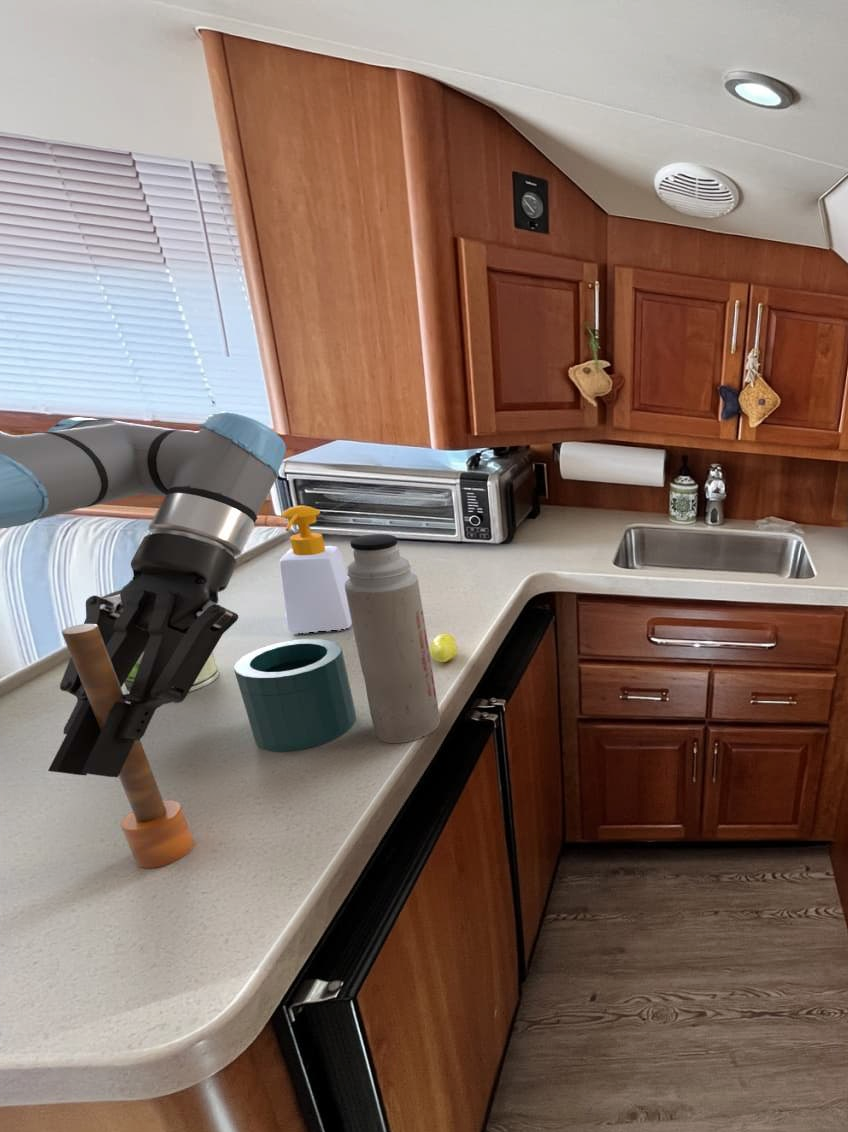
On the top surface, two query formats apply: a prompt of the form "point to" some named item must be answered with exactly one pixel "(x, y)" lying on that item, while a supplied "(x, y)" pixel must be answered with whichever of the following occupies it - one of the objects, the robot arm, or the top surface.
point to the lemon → (443, 648)
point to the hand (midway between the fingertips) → (83, 773)
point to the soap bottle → (312, 578)
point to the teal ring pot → (296, 694)
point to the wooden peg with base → (130, 760)
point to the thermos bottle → (391, 640)
